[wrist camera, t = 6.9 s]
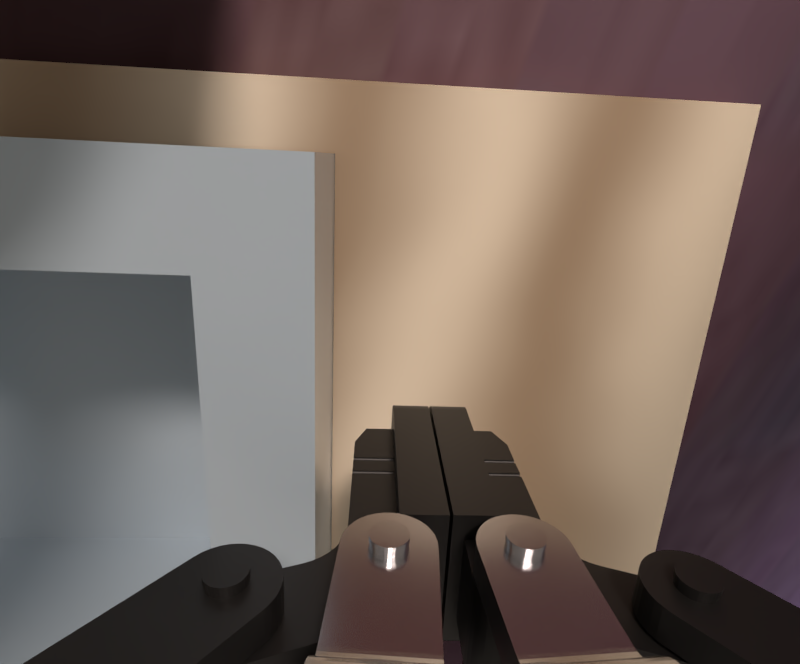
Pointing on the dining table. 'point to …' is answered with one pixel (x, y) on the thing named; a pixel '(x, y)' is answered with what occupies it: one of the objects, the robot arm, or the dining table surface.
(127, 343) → the holder
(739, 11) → the dining table surface
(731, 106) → the tan wooden board
